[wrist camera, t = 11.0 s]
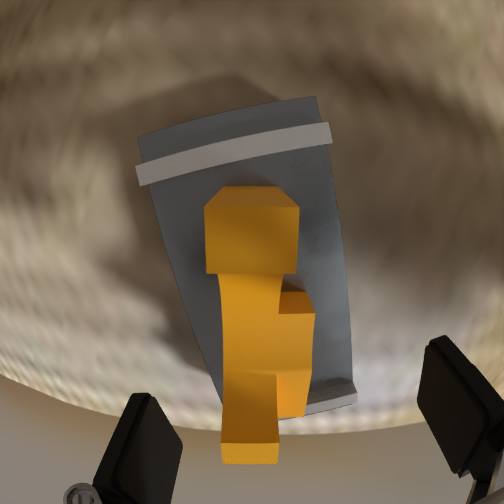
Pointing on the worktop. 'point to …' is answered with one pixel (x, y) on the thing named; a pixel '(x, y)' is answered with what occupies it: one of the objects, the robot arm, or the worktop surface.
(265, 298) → the orange stepped block
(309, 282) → the mounting block
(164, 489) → the robot arm
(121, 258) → the worktop surface
